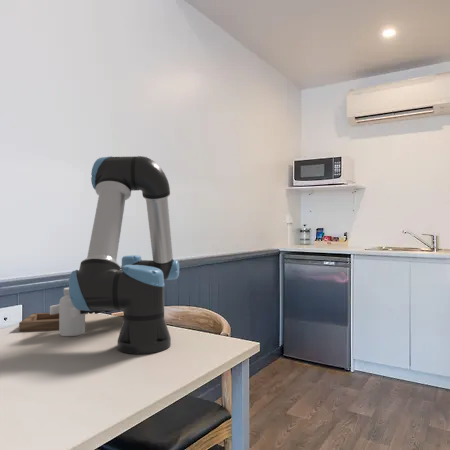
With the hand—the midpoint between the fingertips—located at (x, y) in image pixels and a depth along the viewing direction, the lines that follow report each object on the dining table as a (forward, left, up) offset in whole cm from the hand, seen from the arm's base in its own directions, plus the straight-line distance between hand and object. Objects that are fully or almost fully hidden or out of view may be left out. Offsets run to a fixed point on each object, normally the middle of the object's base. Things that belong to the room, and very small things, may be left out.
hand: (60, 311), depth 129 cm
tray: (+18, +8, -8) cm, 21 cm away
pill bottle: (+4, -3, -8) cm, 9 cm away
